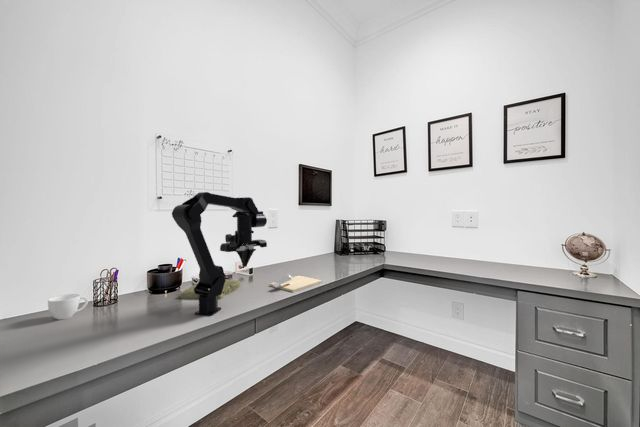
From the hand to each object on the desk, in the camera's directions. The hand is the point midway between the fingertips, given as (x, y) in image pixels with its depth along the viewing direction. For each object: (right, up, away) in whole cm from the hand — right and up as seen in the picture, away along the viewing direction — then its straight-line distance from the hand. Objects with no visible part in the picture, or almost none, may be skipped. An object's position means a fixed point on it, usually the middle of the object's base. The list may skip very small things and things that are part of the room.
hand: (244, 266), depth 110 cm
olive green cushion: (-16, -14, +9) cm, 23 cm away
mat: (+19, -13, +21) cm, 31 cm away
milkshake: (+11, -11, +11) cm, 19 cm away
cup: (-55, -14, -18) cm, 60 cm away
